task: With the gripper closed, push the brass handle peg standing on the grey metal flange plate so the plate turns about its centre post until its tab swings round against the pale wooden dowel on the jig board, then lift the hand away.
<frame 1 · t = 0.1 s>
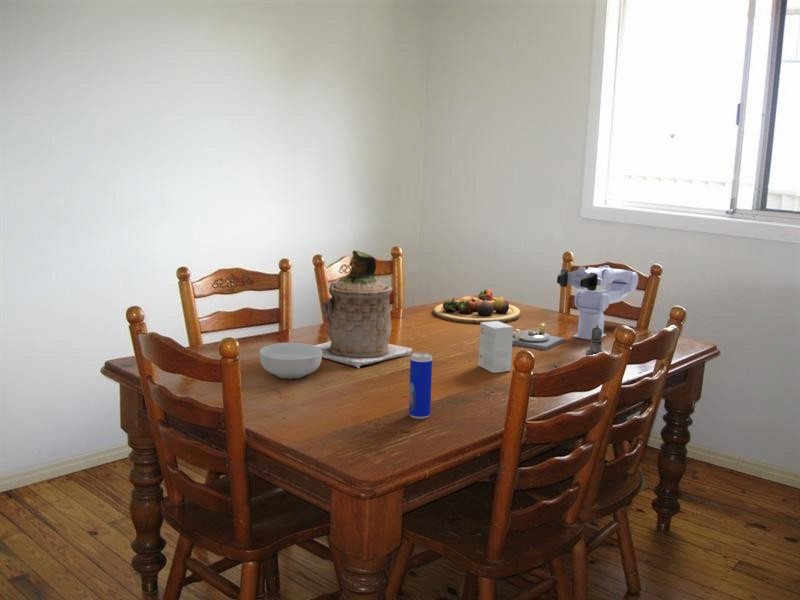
hand: (569, 281, 262), 22 cm above the table, tool horizontal, fingers open, 7 cm apart
beverage can: (419, 416, 202), on the table
flange plate: (530, 331, 274), point 3 cm above the table, hinge at 0.0°
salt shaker: (594, 364, 250), on the table
cereal bowl: (291, 375, 232), on the table
small box: (494, 369, 243), on the table
jig board: (532, 341, 274), on the table
wooden plate with food: (476, 316, 312), on the table
cookie jar: (357, 354, 255), on the table
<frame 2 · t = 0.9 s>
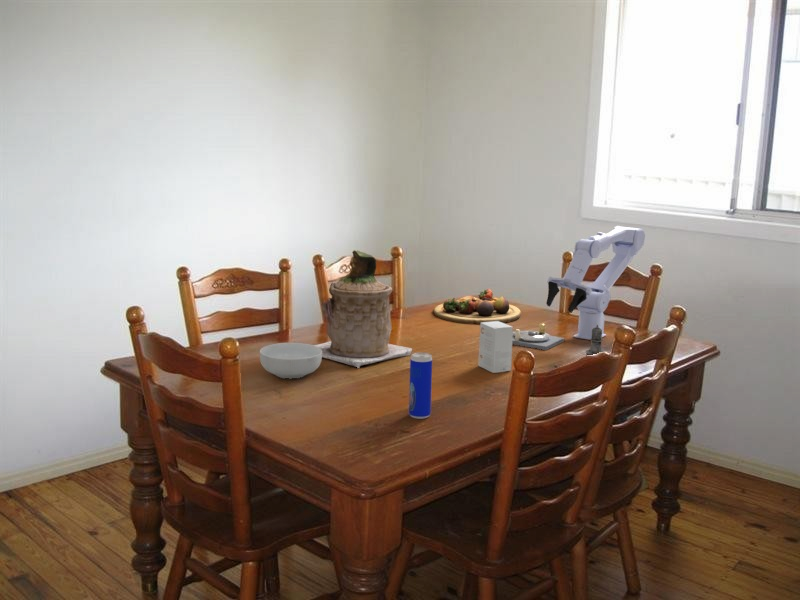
hand: (558, 308, 267), 13 cm above the table, tool tilted 40°, fingers open, 7 cm apart
nothing on the table moved.
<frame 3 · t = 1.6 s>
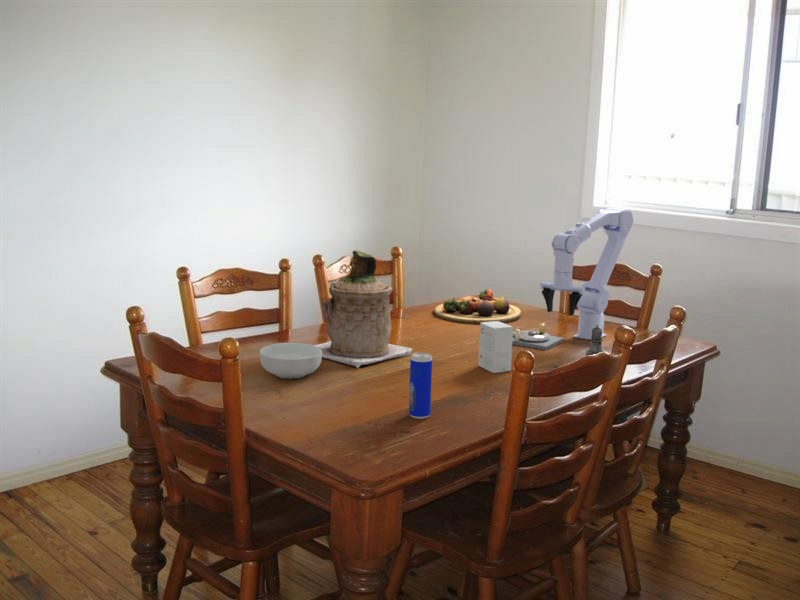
hand: (560, 313, 271), 10 cm above the table, tool pointing down, fingers open, 7 cm apart
nothing on the table moved.
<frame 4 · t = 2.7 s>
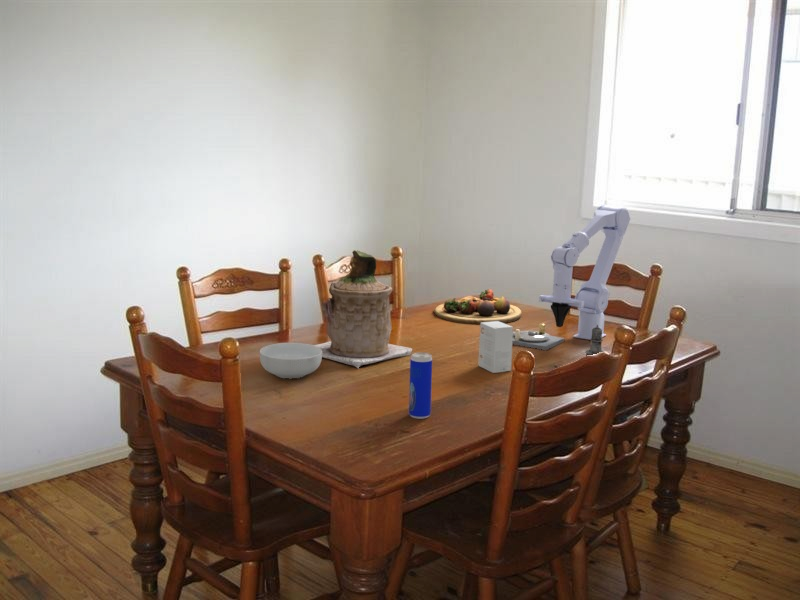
hand: (559, 326, 272), 6 cm above the table, tool pointing down, fingers closed
nothing on the table moved.
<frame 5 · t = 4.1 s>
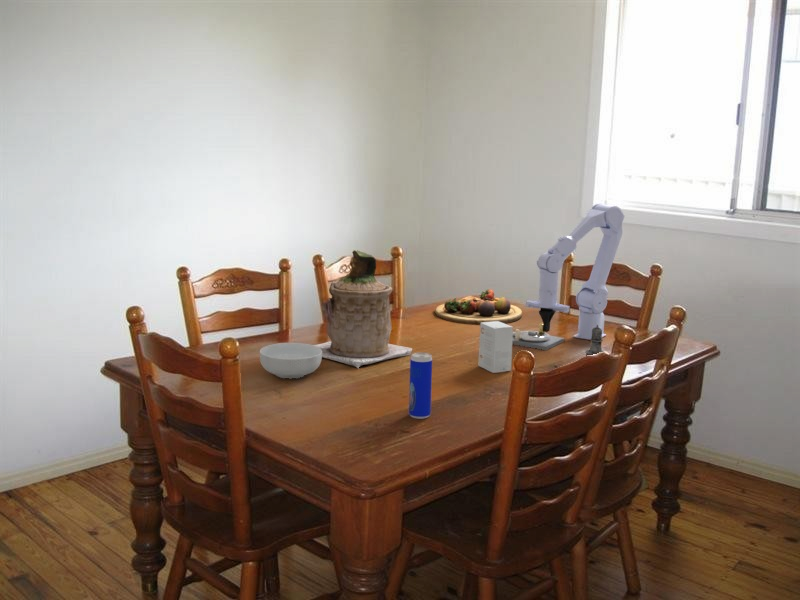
hand: (546, 331, 275), 3 cm above the table, tool pointing down, fingers closed, pressing on flange plate
flange plate: (530, 331, 274), point 3 cm above the table, hinge at 1.9°, touching gripper
everything else where it was.
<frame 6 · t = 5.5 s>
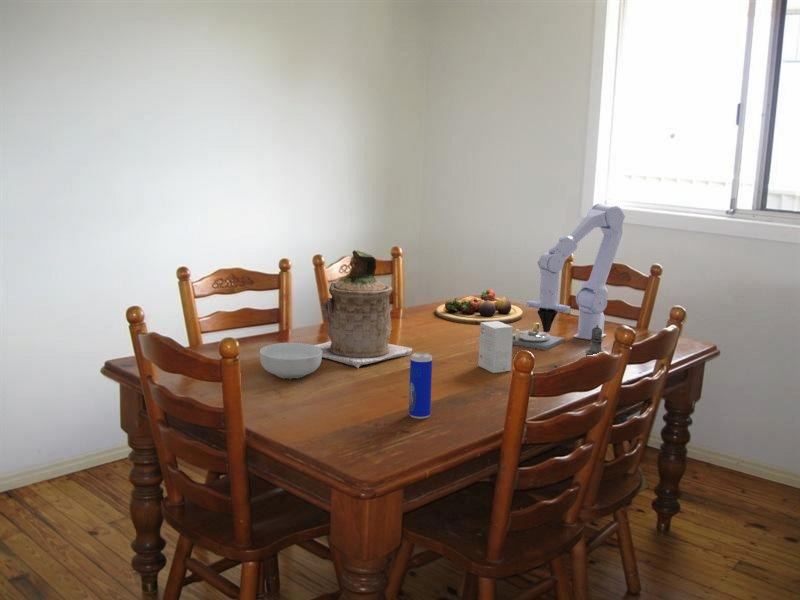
hand: (546, 331, 275), 3 cm above the table, tool pointing down, fingers closed
flange plate: (529, 331, 274), point 3 cm above the table, hinge at 32.3°
everything else where it was.
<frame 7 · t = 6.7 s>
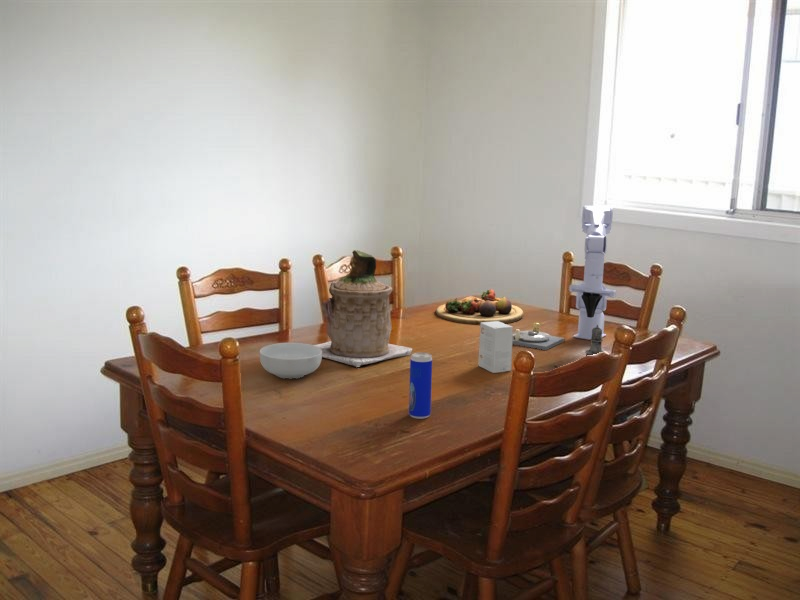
hand: (590, 316, 265), 10 cm above the table, tool pointing down, fingers closed
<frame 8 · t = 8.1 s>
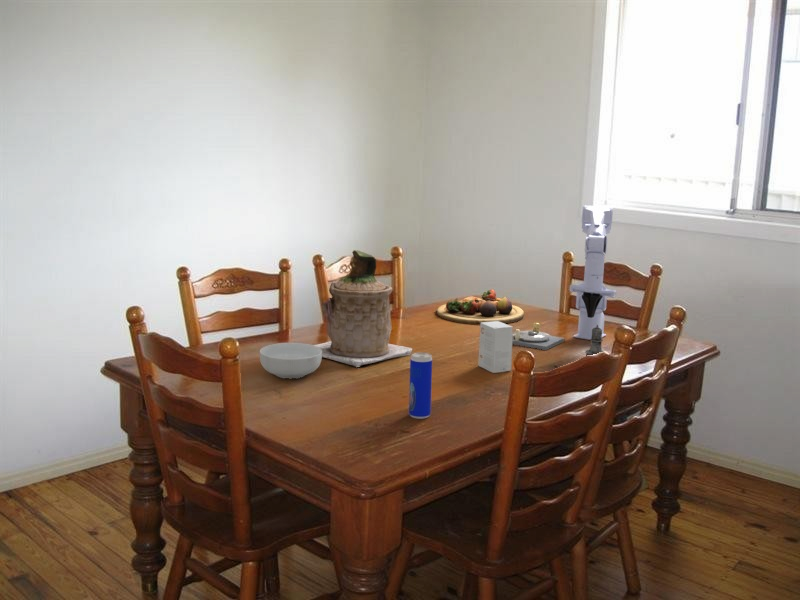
hand: (590, 317, 265), 10 cm above the table, tool pointing down, fingers closed
at the end: flange plate at +32° (first picture: +0°); flange plate touching nothing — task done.
